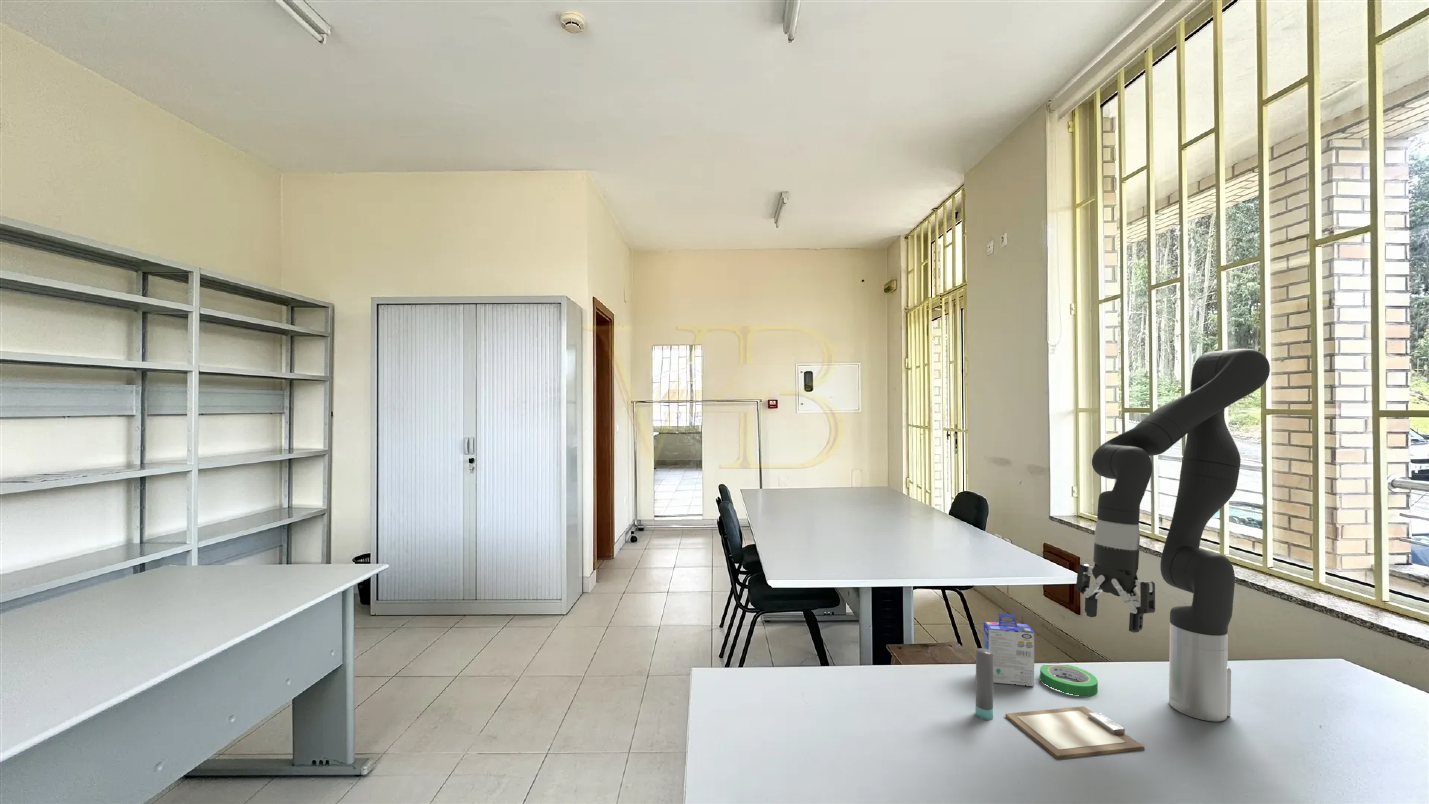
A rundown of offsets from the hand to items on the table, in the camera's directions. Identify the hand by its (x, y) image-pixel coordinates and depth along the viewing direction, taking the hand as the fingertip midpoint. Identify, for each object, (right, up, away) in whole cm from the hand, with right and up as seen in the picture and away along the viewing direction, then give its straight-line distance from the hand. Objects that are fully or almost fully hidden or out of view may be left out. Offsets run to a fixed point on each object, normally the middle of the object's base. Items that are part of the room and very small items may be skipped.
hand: (1112, 623), depth 118 cm
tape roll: (-1, -19, +13) cm, 23 cm away
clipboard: (-12, -19, -6) cm, 23 cm away
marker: (-26, -19, 0) cm, 32 cm away
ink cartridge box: (-13, -19, +15) cm, 28 cm away
